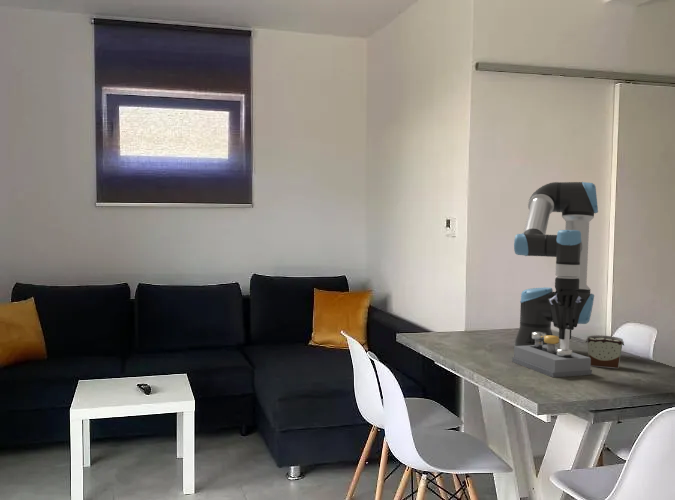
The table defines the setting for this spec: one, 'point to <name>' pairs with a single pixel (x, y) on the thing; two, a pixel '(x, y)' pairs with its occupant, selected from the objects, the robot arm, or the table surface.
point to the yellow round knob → (551, 343)
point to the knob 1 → (538, 339)
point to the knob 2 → (564, 353)
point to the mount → (551, 362)
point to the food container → (604, 350)
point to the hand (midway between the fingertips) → (564, 348)
